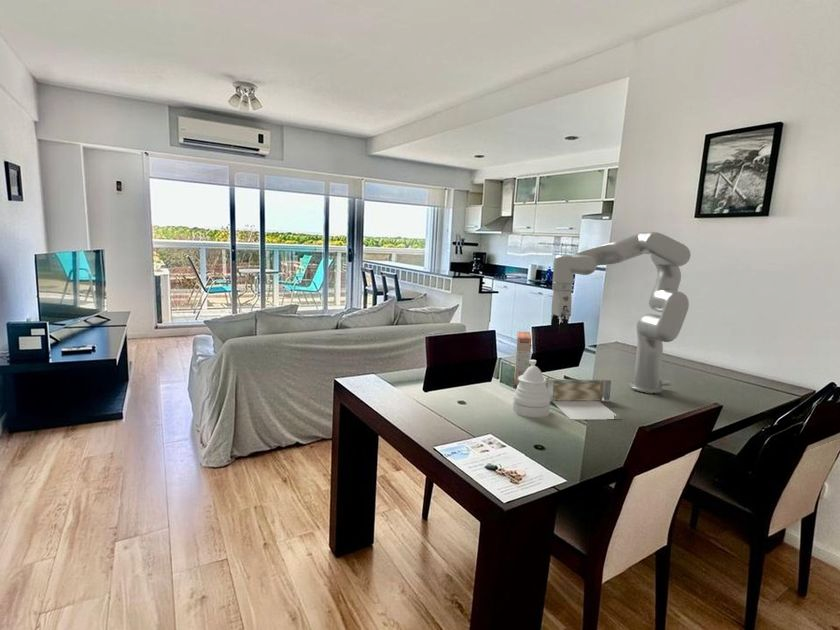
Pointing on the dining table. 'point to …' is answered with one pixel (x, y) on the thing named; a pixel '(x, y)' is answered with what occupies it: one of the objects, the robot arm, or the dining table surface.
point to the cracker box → (522, 354)
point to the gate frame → (604, 399)
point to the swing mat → (585, 410)
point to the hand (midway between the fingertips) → (558, 330)
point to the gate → (578, 389)
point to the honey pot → (532, 393)
